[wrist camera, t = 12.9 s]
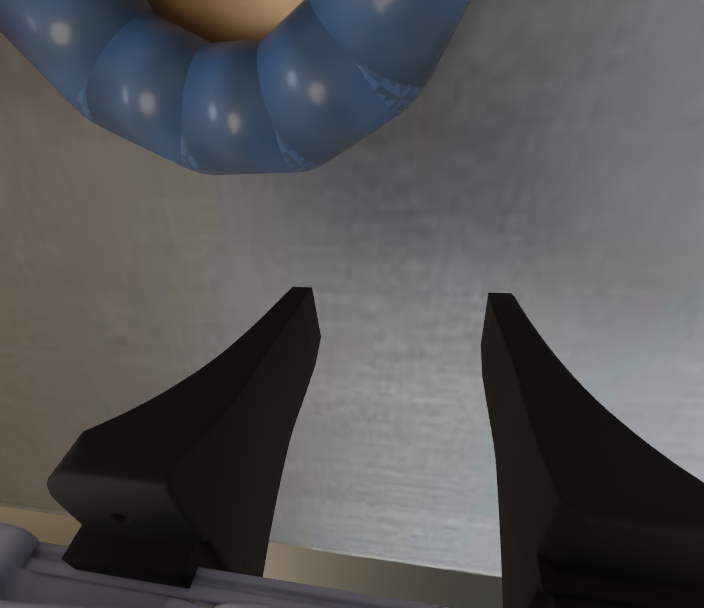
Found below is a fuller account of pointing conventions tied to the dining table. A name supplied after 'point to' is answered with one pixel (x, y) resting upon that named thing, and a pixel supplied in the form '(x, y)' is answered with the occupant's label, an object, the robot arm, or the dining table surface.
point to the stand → (225, 17)
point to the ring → (236, 76)
